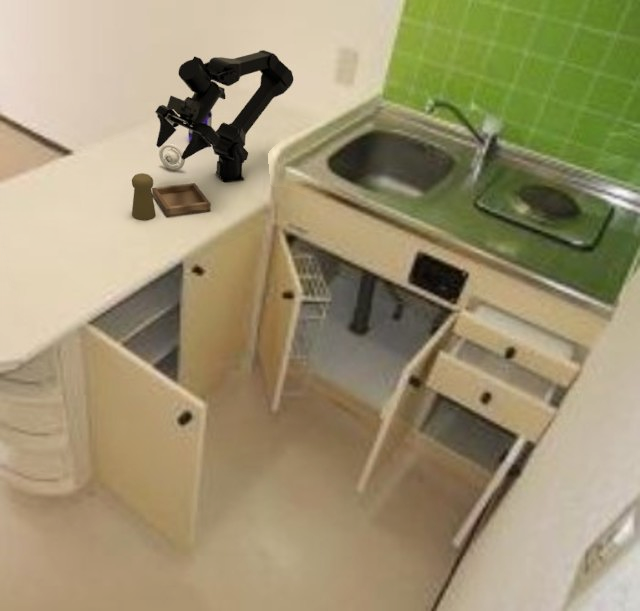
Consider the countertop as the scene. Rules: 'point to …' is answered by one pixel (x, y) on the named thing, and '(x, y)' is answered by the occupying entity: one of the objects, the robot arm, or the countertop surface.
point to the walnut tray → (180, 200)
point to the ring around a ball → (171, 157)
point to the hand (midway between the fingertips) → (169, 152)
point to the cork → (143, 197)
